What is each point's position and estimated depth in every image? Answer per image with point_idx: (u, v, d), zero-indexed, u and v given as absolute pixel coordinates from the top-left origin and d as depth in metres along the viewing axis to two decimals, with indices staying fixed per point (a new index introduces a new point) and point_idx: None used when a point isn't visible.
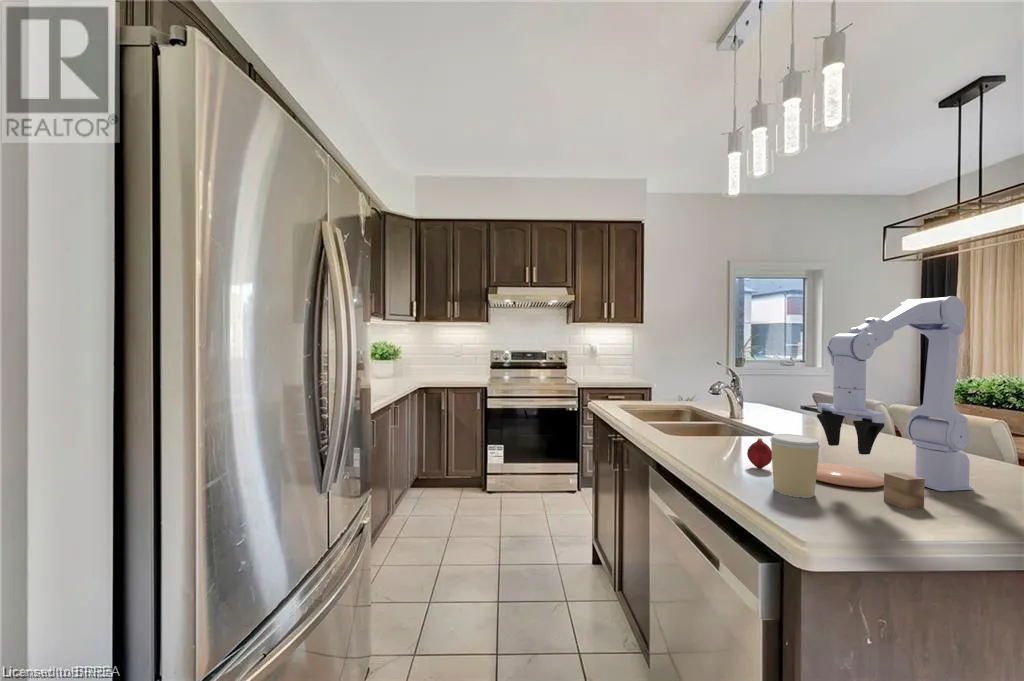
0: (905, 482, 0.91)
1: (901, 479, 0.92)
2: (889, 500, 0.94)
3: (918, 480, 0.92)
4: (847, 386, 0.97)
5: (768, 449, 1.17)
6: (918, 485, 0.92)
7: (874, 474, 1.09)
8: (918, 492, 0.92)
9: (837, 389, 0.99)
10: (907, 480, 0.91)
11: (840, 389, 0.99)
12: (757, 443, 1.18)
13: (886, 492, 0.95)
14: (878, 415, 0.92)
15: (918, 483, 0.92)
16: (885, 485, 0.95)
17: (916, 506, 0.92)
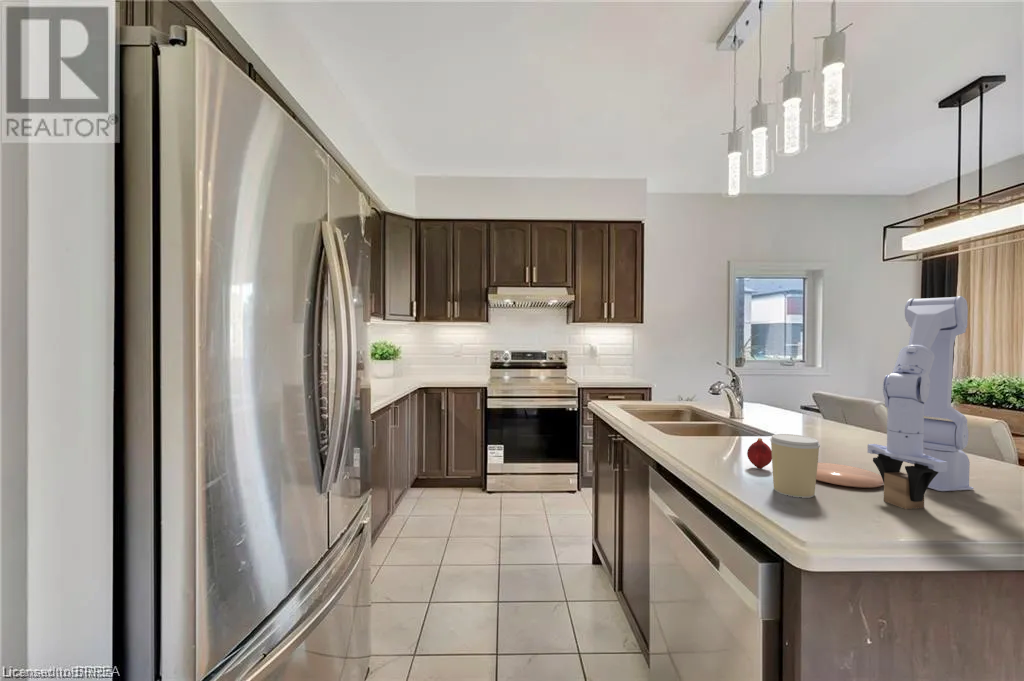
0: (905, 481, 0.91)
1: (901, 479, 0.92)
2: (889, 500, 0.94)
3: None
4: (910, 431, 0.91)
5: (768, 449, 1.17)
6: None
7: (874, 474, 1.09)
8: None
9: (892, 432, 0.93)
10: (907, 480, 0.91)
11: (896, 433, 0.93)
12: (757, 443, 1.18)
13: (886, 492, 0.95)
14: (940, 464, 0.87)
15: None
16: (885, 485, 0.95)
17: (916, 506, 0.92)
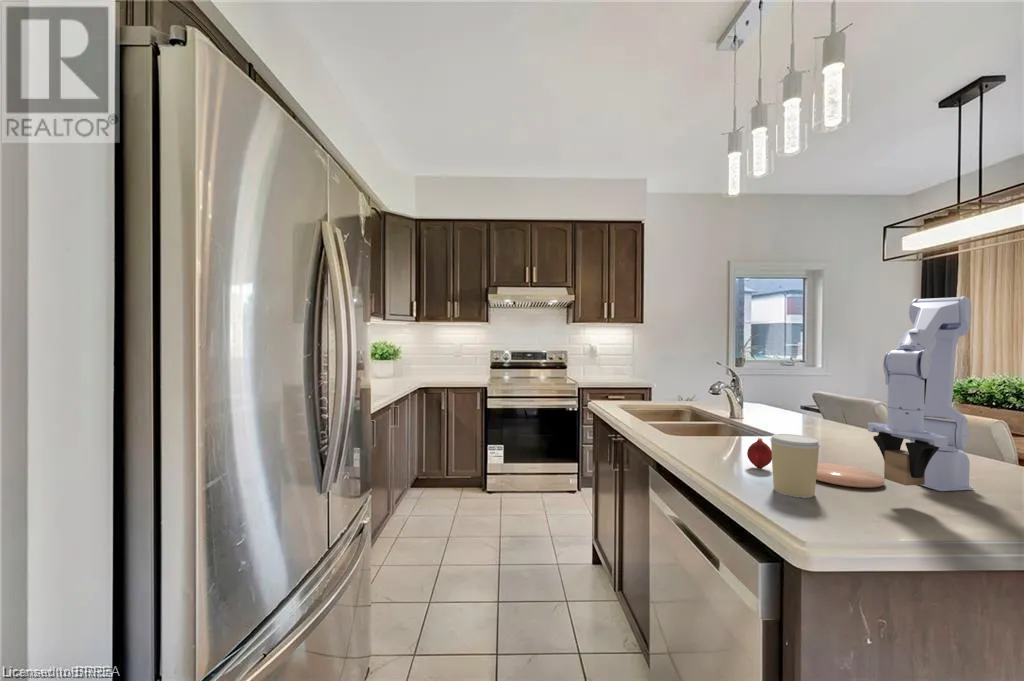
0: (906, 458, 0.91)
1: (901, 456, 0.92)
2: (890, 477, 0.94)
3: None
4: (911, 407, 0.91)
5: (768, 449, 1.17)
6: None
7: (874, 474, 1.09)
8: None
9: (893, 409, 0.93)
10: (907, 456, 0.91)
11: (896, 410, 0.93)
12: (757, 443, 1.18)
13: (887, 469, 0.95)
14: (941, 439, 0.87)
15: None
16: (885, 462, 0.95)
17: (917, 482, 0.92)
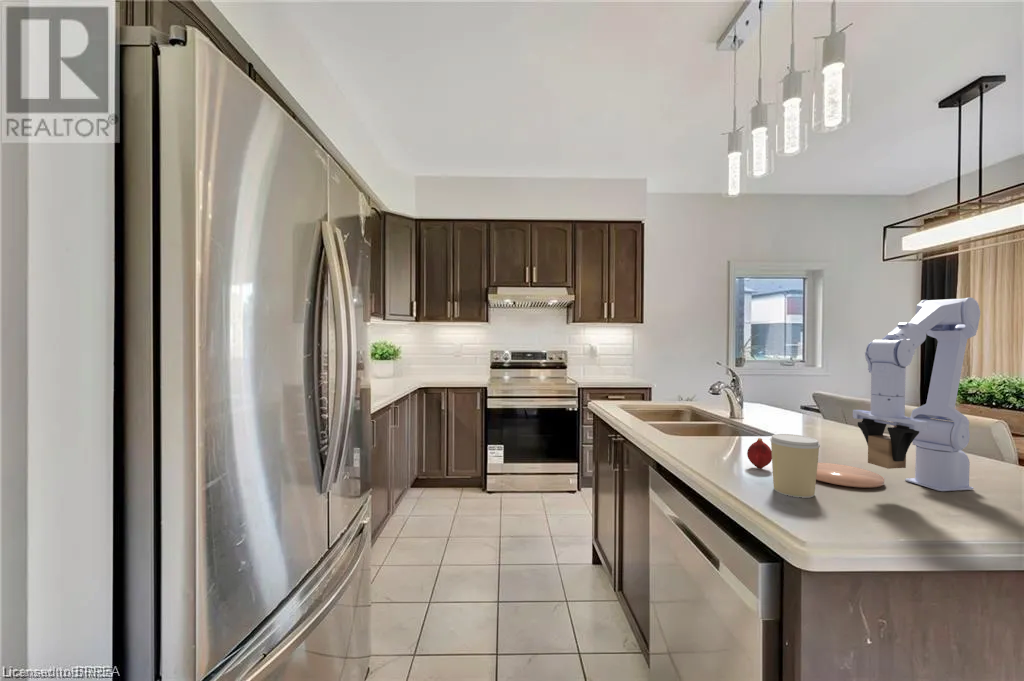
0: (888, 442, 0.95)
1: (884, 440, 0.96)
2: (873, 461, 0.99)
3: None
4: (889, 393, 0.96)
5: (768, 449, 1.17)
6: None
7: (874, 474, 1.09)
8: None
9: (875, 396, 0.98)
10: (889, 441, 0.95)
11: (879, 396, 0.97)
12: (757, 443, 1.18)
13: (870, 454, 0.99)
14: (920, 423, 0.91)
15: None
16: (869, 447, 1.00)
17: (898, 466, 0.96)
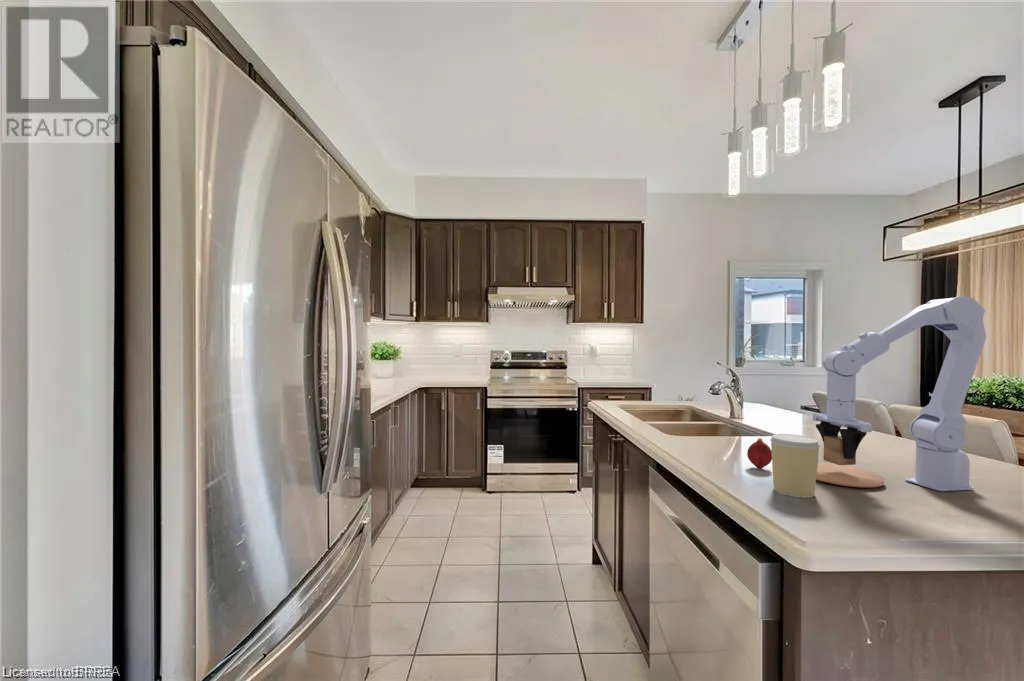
0: (839, 442, 1.08)
1: (836, 440, 1.09)
2: (827, 459, 1.12)
3: None
4: (832, 398, 1.10)
5: (768, 449, 1.17)
6: None
7: (874, 474, 1.09)
8: None
9: (830, 401, 1.10)
10: (841, 440, 1.08)
11: (832, 401, 1.10)
12: (757, 443, 1.18)
13: (825, 452, 1.12)
14: (866, 425, 1.04)
15: None
16: (824, 446, 1.12)
17: (849, 463, 1.09)
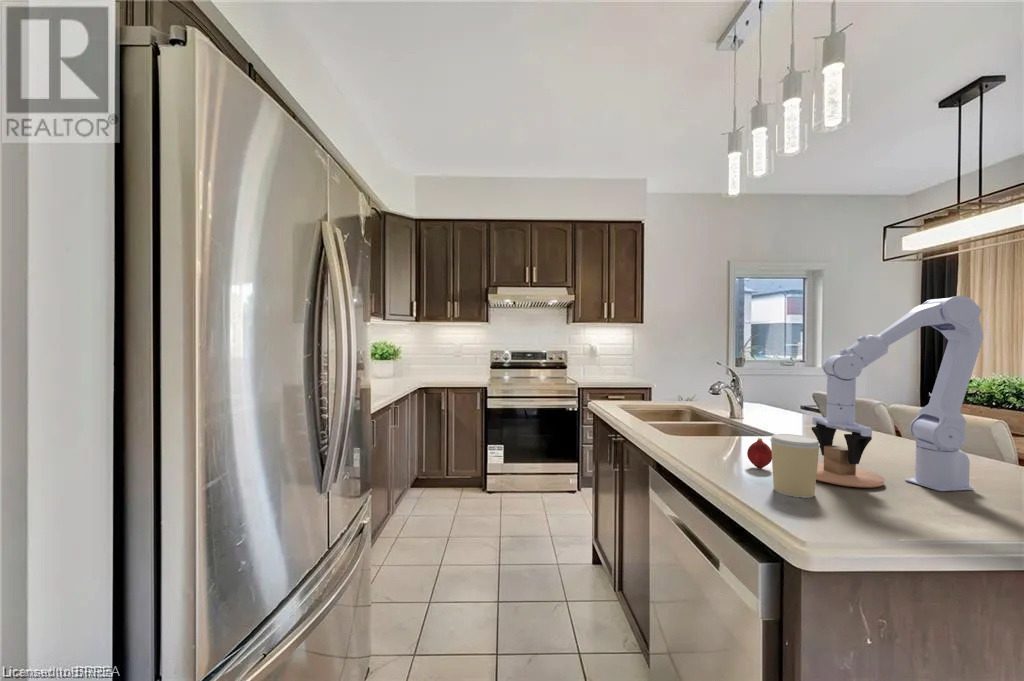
0: (839, 452, 1.08)
1: (836, 450, 1.09)
2: (827, 468, 1.12)
3: None
4: (832, 402, 1.10)
5: (768, 449, 1.17)
6: None
7: (874, 474, 1.09)
8: None
9: (830, 405, 1.10)
10: (841, 451, 1.08)
11: (832, 405, 1.10)
12: (757, 443, 1.18)
13: (825, 462, 1.12)
14: (866, 429, 1.04)
15: None
16: (824, 456, 1.12)
17: (849, 473, 1.09)
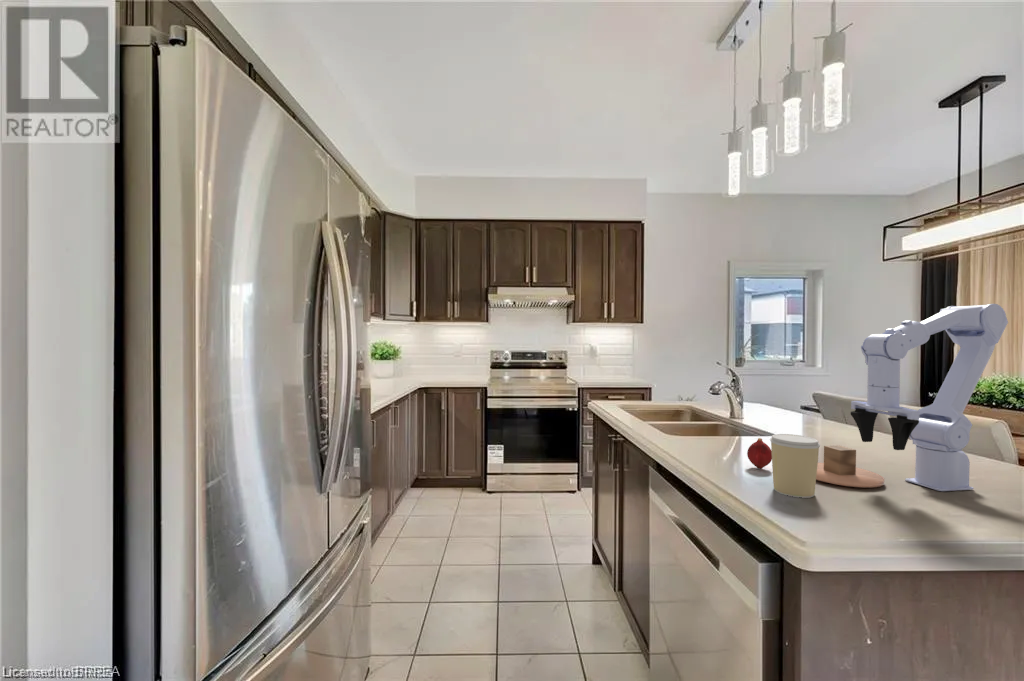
0: (839, 452, 1.08)
1: (836, 450, 1.09)
2: (827, 468, 1.12)
3: (850, 451, 1.09)
4: (880, 384, 1.02)
5: (768, 449, 1.17)
6: (850, 455, 1.09)
7: (874, 474, 1.09)
8: (850, 461, 1.09)
9: (872, 387, 1.03)
10: (841, 451, 1.08)
11: (875, 387, 1.03)
12: (757, 443, 1.18)
13: (825, 462, 1.12)
14: (913, 412, 0.96)
15: (850, 453, 1.09)
16: (824, 456, 1.12)
17: (849, 473, 1.09)
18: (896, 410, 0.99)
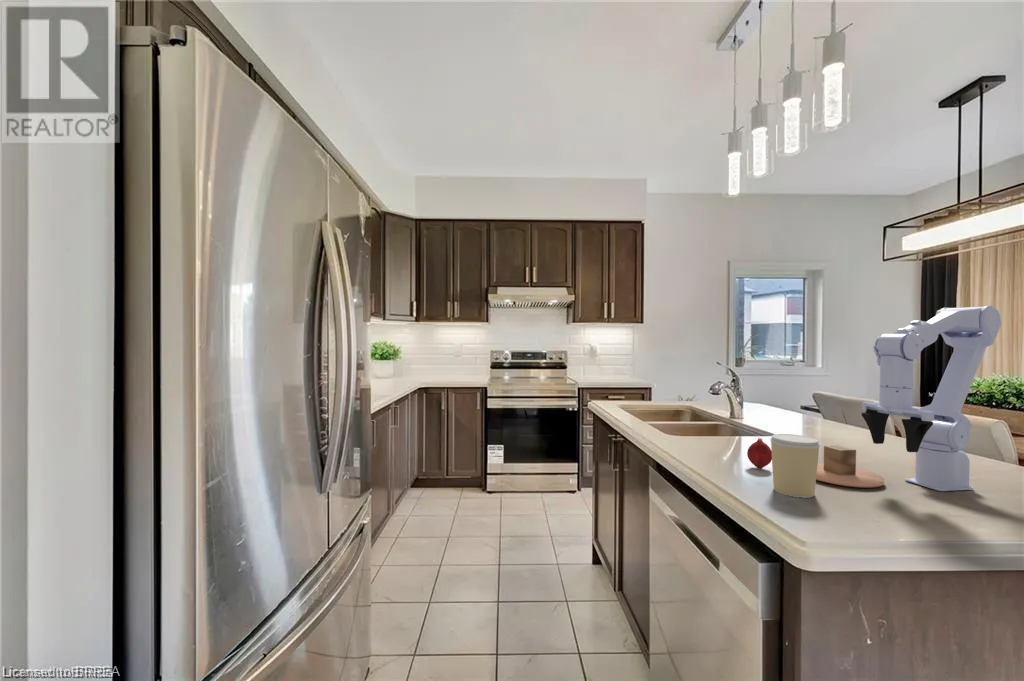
0: (839, 452, 1.08)
1: (836, 450, 1.09)
2: (827, 468, 1.12)
3: (850, 451, 1.09)
4: (896, 385, 0.99)
5: (768, 449, 1.17)
6: (850, 455, 1.09)
7: (874, 474, 1.09)
8: (850, 461, 1.09)
9: (884, 388, 1.01)
10: (841, 451, 1.08)
11: (887, 388, 1.01)
12: (757, 443, 1.18)
13: (825, 462, 1.12)
14: (928, 413, 0.94)
15: (850, 453, 1.09)
16: (824, 456, 1.12)
17: (849, 473, 1.09)
18: (910, 411, 0.97)
